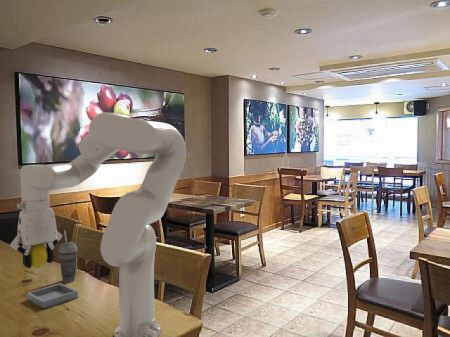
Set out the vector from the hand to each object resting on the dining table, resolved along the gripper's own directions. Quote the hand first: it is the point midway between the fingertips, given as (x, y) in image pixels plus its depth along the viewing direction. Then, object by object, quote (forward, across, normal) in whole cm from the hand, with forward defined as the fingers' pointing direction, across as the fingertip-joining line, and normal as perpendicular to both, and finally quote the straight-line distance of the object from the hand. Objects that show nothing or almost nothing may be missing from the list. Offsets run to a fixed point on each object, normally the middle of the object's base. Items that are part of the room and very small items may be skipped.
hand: (38, 264), depth 115 cm
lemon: (+2, 0, 0) cm, 2 cm away
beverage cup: (+17, +23, +25) cm, 38 cm away
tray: (+17, +10, +12) cm, 23 cm away
